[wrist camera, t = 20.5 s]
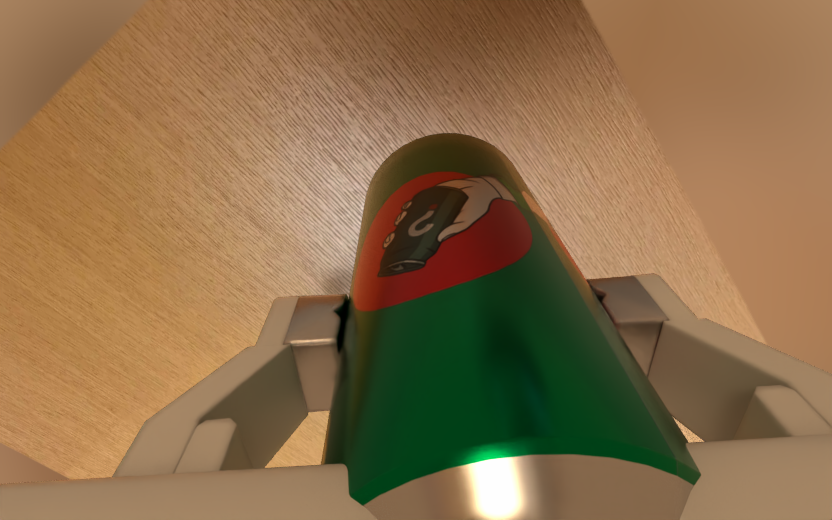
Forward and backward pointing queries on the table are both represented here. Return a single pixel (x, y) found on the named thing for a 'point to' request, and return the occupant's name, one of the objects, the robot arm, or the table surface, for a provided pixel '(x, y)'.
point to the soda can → (488, 360)
